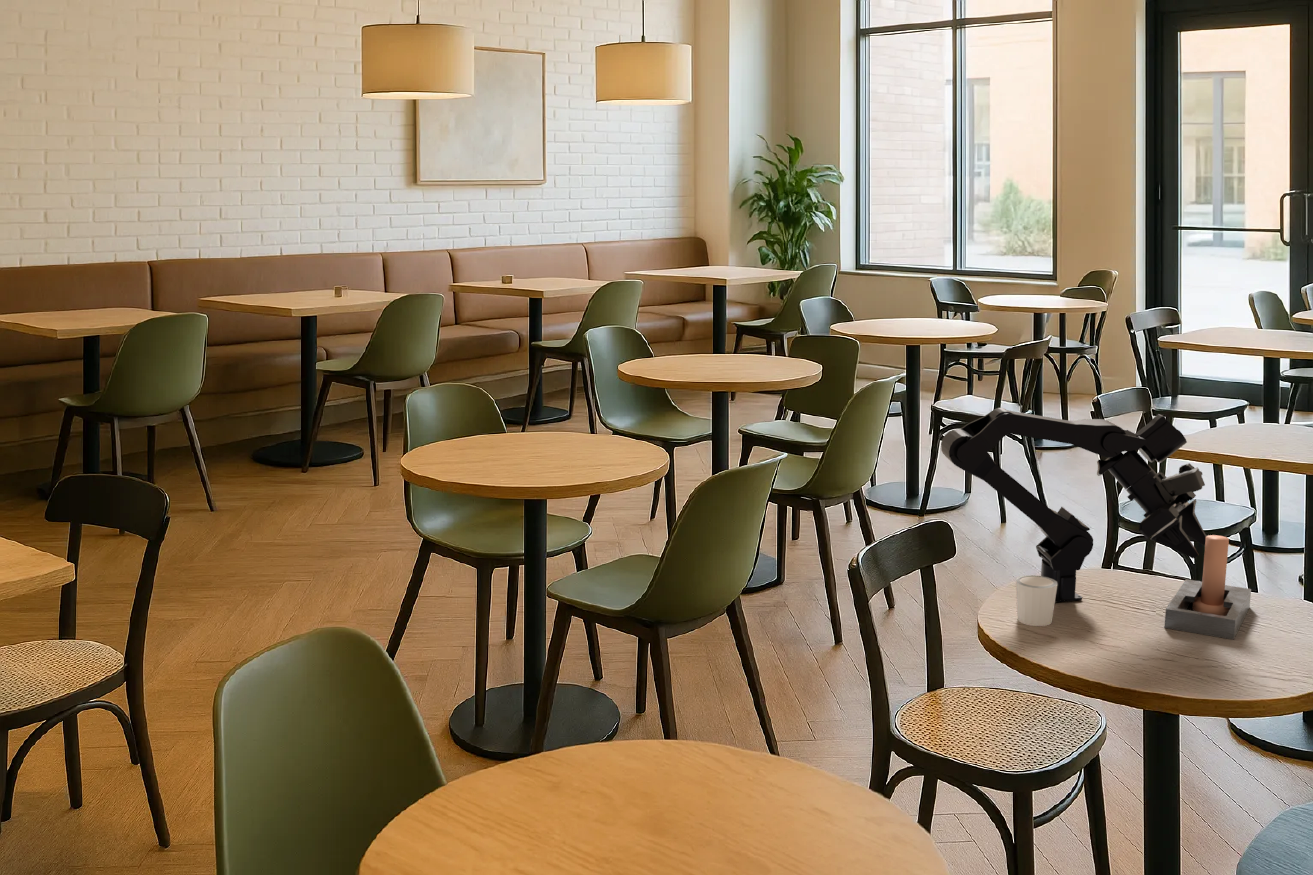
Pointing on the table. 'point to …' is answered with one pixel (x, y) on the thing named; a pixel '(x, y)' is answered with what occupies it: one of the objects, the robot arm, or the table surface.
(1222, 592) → the peg
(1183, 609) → the keyhole plate
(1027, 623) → the white cup
